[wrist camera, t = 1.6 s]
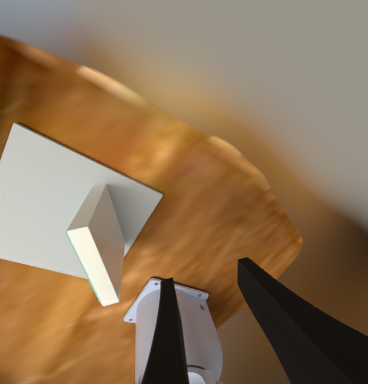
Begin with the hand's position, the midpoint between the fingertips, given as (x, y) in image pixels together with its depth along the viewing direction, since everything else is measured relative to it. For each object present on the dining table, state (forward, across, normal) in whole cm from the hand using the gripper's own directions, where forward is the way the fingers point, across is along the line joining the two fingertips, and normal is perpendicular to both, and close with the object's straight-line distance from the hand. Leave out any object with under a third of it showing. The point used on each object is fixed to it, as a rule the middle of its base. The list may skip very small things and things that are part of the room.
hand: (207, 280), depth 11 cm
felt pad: (+10, +10, 0) cm, 15 cm away
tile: (+10, +7, 0) cm, 12 cm away
